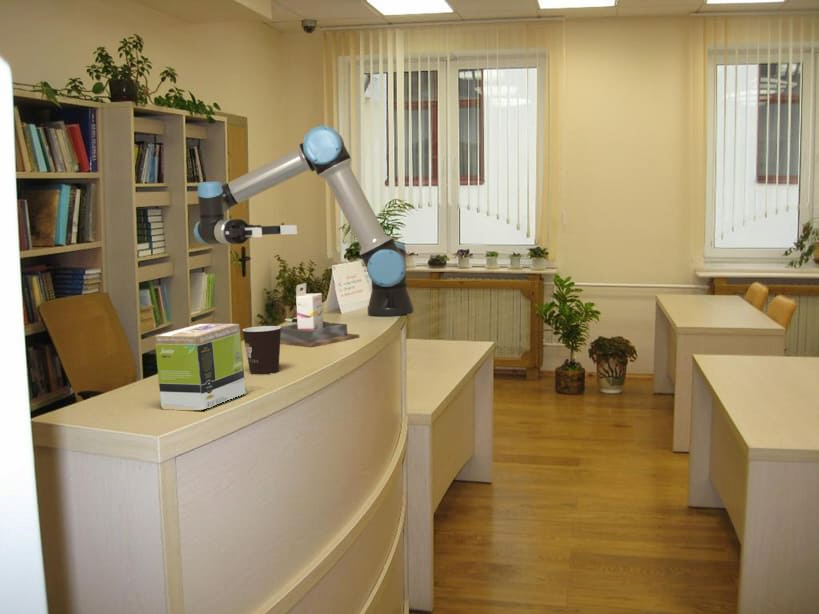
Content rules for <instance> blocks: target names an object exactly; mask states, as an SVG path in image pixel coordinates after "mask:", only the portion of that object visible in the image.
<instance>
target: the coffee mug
mask: <svg viewBox="0 0 819 614" xmlns="http://www.w3.org/2000/svg"><path fill="white" fill-rule="evenodd" d="M281 327H282V326H278V325H276V326H275V325H263V326H260V325H259V326H252V327H246V328H243V329H242V330H241V331H242V334H243V340H244V347H245V353H246V357H247V363H248V368H249V373H251V374H250V375H253V374H268V375H271V374H270V373H274V374H277V373H279V372H278V371H279V370H280V369H279V368H280V349H281V344H280V335H281ZM276 372H277V373H276Z"/></svg>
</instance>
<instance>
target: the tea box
mask: <svg viewBox="0 0 819 614" xmlns="http://www.w3.org/2000/svg"><path fill="white" fill-rule="evenodd" d="M241 337H242V336H241V326H240V323H197V324H193V325H191V326H187V327H182V328H179V329H175V330H171V331H168V332H164V333H160V334H156V335H154V342H155V343H154V345H155V355H156V365H157V367H156V368H157V375H158V386H159V388H158V389H159V397H160V405H161V406H169V407H181V408H182V407H183V408H194V409H205V408H208V407H211V406H214V405H216V404H219V403H222V402H224V403H226V402H225V401H227V400H229V401H231V400H230V399H232V400H234V399H236V398H235V397H237V398H239V397H241V395H242V396H244V395H246V394H247V393H246V382H245V380H246V379H245V373H244V372H245V370H244V358H243V347H242V338H241ZM243 394H244V395H243ZM238 396H239V397H238ZM233 398H234V399H233ZM227 402H228V401H227ZM222 404H223V403H222ZM161 406H160V407H161Z"/></svg>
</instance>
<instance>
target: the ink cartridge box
mask: <svg viewBox="0 0 819 614" xmlns="http://www.w3.org/2000/svg"><path fill="white" fill-rule="evenodd" d="M295 289H296V292H295V299H296V300H295V302H296V316H297V318H296V319H297V321H296V322H297V323H296V324H298V329H299V330H314V329H319V328H323V322H324V321H323V300H322V299H323V297H322V294H323V293H321V292H318V293H317V292H316V293H307V282H305V283H301V284H298V285H296V288H295ZM301 289H302V290H301Z"/></svg>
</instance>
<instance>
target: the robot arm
mask: <svg viewBox="0 0 819 614" xmlns="http://www.w3.org/2000/svg"><path fill="white" fill-rule="evenodd" d="M351 163H352V157H351V156H350V153H349V151H348V150H347V148H346V145H345V141H344V139H343V138H342V136H341V135H340V134H339V133H338V131H337V130H336V129H335V128H334V127H331V126H328V125H317V126H315V127H313V128H311V129H310V130H308V132H307V133H306V134H305V136H304V138H303V142H302V143H299V144H298V145H297V148H296V149H295V150H292V151H290V152H288V153H286V154H284V155H282V156H280V157H278V158H276V159H274V160H272V161H270V162H268V163H265V164H264V165H262V166H260V167H257V168H255V169H253V170H252V171H249V172H248V173H244V174H243V175H241V176H239V177H237V178H235V179H232V180H231V181H229V182H227V183H225V184H222V182H220V181H201V182H198V184H197V199H198V208H199V209H198V213H199V221H197V223H195V226H194V228H193V236H194V238H195V239H196V240H197V242H198V243H201V244H207V245H225V246H226V247H229V246H230V245H242V244H244V243H246V242H247V241H248V239H253V238H263V235H264V236H265V235H298V224H285V222H281V225H265V226H264V225H263V226H262V225H261V224H255V225H254V224H248V223H247V221H245V220H244V219H239V218H238V219H237V218H235V219H232V218H231V219H227V218H226V219H225V213H224V212H227V211H228V210H230V209H231V208H233V207H235V206H237V205H238V204H240V203H242V202H245V201H247V200H249V199H251V198H253V197H255V196H257V195H259V194H262V193H263V192H266V191H268V190H269V189H270V190H271V188H274V187H276V186H278V185H281V184H282V183H283V182H286V181H288V180H290V179H293V178H294V177H297V176H298V175H301V174H303V173H305V172H308V171H309V172H314V171H315V172H316V174H317V177H319V178H322V179H324V180H325V181H326V183H327V185H328V187H329V189H330V190H331V193H332V194H333V197H334V199H335V200H336V203H337V205H338V206H339V208H340V210H341V211H342V214H343V215H344V217H345V220H346V221H347V223H348V225H349V227H350V229H351V231H352V233H353V234H354V236H355V239H356V240H357V242H358V244H359V246H360V251H359V256H360V258H361V260H362V261H363V263H364V266H365V267H366V269H367V274H368V277H369V279H370V280H371V293H370V298H369V303H368V306H367V315H368V314H369V315H368V316H372V315H375V316H374V317H392V316H393V317H395V316H405V315H409V314H413V313H414V305H413V303H412V301H411V300H412V299H411V297H410V294H409V291H408V285H407V284H408V280H407V277H408V276H407V260H406V259H407V258H406V254H407V250H406V246H405V244H404V243H402V242H395V240H394V237H392V236H389V235H387V234H386V232H385V231H384V230H383V227H382V226H381V224H380V221H379V220H378V217H377V216H376V214H375V212H374V209H373V208H372V206H371V205H370V203H369V201H368V198H367V197H366V195H365V193H364V190H363V188H362V187H361V185H360V183H359V182H358V181H359V180H358V179H357V177H356V176H355V174H354V172H353V170H352V167H351Z"/></svg>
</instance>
